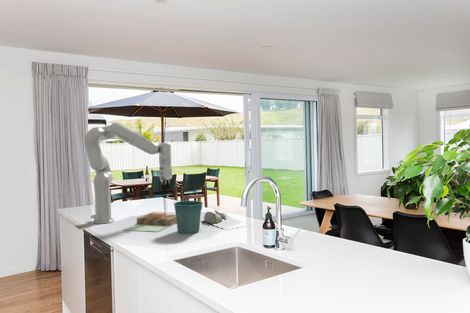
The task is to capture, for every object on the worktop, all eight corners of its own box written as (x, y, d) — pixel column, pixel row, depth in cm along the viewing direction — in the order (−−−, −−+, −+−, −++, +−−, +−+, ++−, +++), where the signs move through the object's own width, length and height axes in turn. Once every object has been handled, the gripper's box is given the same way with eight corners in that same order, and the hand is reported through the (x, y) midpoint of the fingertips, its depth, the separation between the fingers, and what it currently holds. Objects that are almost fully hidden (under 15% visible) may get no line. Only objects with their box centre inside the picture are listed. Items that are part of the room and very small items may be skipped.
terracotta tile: (148, 217, 235) (148, 213, 234) (153, 215, 240) (153, 211, 240) (162, 218, 232) (161, 214, 232) (166, 216, 238) (166, 212, 238)
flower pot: (209, 229, 217) (208, 201, 217) (191, 236, 203) (191, 206, 203) (186, 226, 226) (185, 199, 225) (167, 232, 212) (167, 204, 211)
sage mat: (123, 230, 219) (123, 229, 219) (136, 224, 233) (136, 224, 233) (157, 232, 213) (157, 231, 213) (169, 226, 227) (169, 225, 227)
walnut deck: (136, 224, 234) (136, 217, 233) (148, 219, 247) (148, 213, 247) (169, 226, 228) (169, 219, 227) (179, 221, 241) (179, 215, 241)
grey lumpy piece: (196, 209, 242) (223, 206, 254) (197, 221, 242) (223, 217, 254) (225, 217, 216) (253, 213, 227) (225, 231, 216) (253, 226, 228)
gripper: (164, 162, 237) (165, 192, 238) (175, 161, 253) (176, 188, 254) (153, 162, 239) (154, 191, 240) (165, 161, 255) (166, 188, 256)
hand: (165, 189), depth 247 cm, fingers open, 3 cm apart
